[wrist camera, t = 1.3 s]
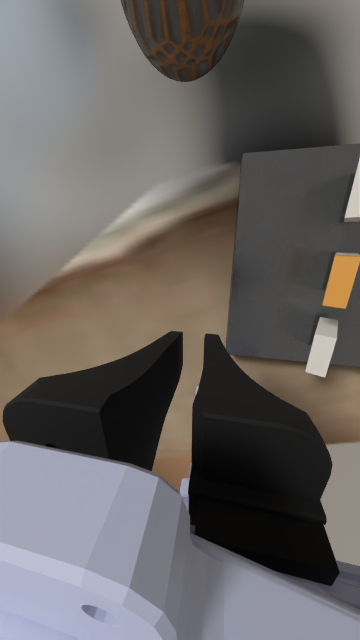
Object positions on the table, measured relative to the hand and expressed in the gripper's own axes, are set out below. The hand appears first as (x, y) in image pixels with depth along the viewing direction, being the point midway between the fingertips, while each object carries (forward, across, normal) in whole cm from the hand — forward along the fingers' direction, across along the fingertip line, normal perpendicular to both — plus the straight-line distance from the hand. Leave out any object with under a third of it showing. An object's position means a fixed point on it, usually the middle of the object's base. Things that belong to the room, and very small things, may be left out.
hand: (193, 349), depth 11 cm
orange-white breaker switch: (+8, -10, -3) cm, 13 cm away
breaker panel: (+10, -10, -3) cm, 15 cm away
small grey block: (+8, -10, +2) cm, 13 cm away
